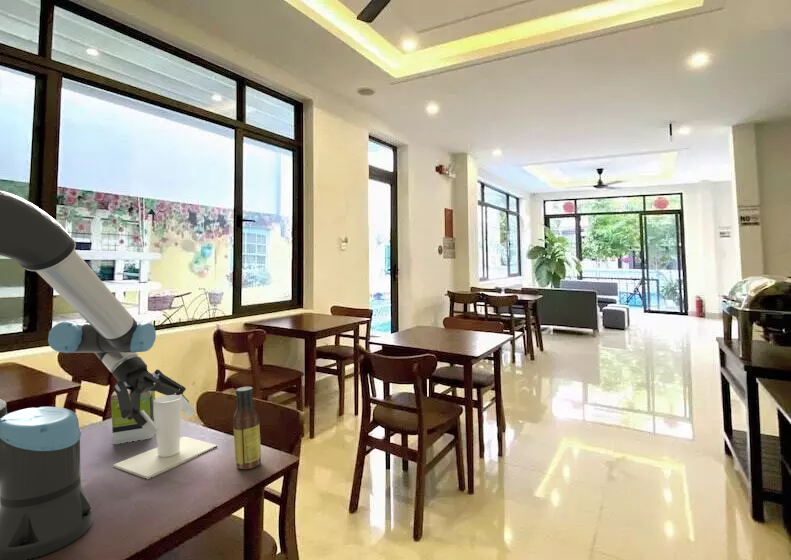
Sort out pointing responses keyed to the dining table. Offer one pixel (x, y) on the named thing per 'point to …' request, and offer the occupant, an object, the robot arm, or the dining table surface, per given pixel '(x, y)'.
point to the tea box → (129, 428)
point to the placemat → (163, 458)
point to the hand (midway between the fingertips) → (174, 423)
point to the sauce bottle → (246, 431)
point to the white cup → (168, 424)
